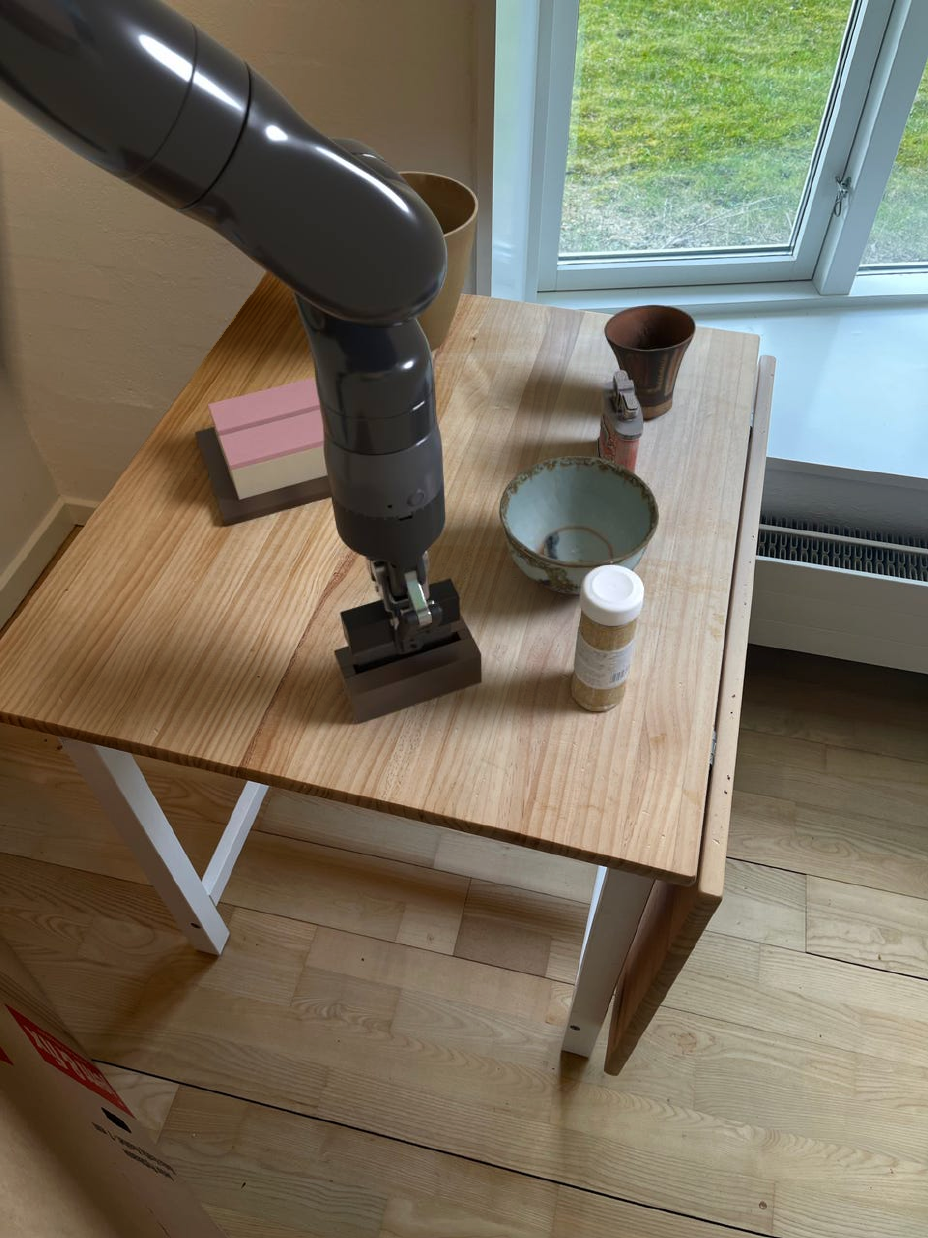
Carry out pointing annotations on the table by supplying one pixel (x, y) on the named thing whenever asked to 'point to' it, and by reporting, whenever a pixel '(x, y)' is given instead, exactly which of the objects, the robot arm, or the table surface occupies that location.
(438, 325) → the plant pot
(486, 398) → the table surface
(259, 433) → the cake
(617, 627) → the sprinkles bottle
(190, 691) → the table surface
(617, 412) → the lighter
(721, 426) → the table surface
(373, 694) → the knife stand
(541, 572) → the bowl
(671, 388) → the cup
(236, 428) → the slice
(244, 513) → the cake board
